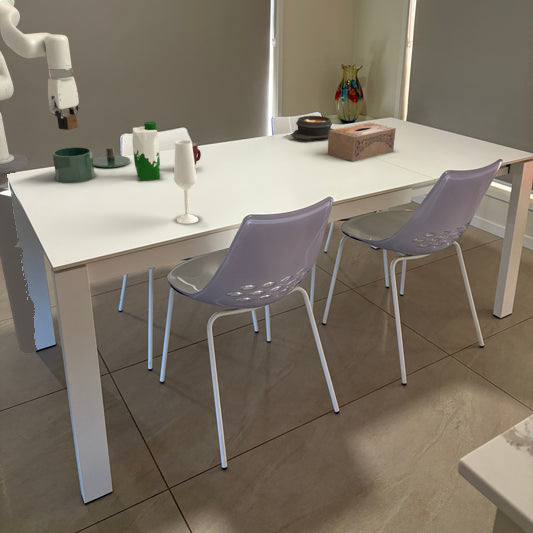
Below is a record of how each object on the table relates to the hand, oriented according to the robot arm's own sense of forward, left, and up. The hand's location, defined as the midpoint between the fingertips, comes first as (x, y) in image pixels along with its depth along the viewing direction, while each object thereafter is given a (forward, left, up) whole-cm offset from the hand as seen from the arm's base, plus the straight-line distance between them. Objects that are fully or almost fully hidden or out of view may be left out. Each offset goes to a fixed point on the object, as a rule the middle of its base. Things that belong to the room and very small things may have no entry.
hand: (68, 127), depth 208 cm
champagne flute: (+59, -16, -19) cm, 64 cm away
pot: (-1, +1, -19) cm, 19 cm away
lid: (-1, +22, -18) cm, 28 cm away
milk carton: (+23, +13, -19) cm, 33 cm away
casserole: (+54, +101, -19) cm, 116 cm away
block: (0, 0, 0) cm, 0 cm away
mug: (+31, +30, -19) cm, 47 cm away
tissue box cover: (+82, +84, -19) cm, 119 cm away
